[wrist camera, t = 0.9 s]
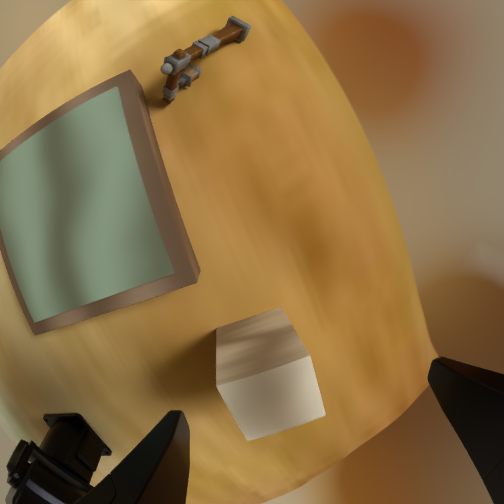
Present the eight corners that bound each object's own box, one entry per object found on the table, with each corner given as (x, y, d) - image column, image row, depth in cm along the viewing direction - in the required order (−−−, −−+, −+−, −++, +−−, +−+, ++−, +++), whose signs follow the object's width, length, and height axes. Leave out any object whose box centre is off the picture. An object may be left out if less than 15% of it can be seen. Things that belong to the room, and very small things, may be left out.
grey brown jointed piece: (147, 103, 15) (152, 55, 11) (216, 53, 18) (232, 13, 14) (167, 115, 16) (176, 68, 12) (233, 63, 18) (252, 24, 14)
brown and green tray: (52, 320, 18) (33, 337, 15) (5, 167, 15) (-19, 165, 12) (200, 270, 19) (196, 284, 15) (141, 86, 16) (128, 67, 12)
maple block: (238, 378, 21) (247, 441, 14) (216, 328, 20) (216, 386, 13) (297, 358, 21) (325, 415, 14) (281, 306, 20) (309, 355, 13)
